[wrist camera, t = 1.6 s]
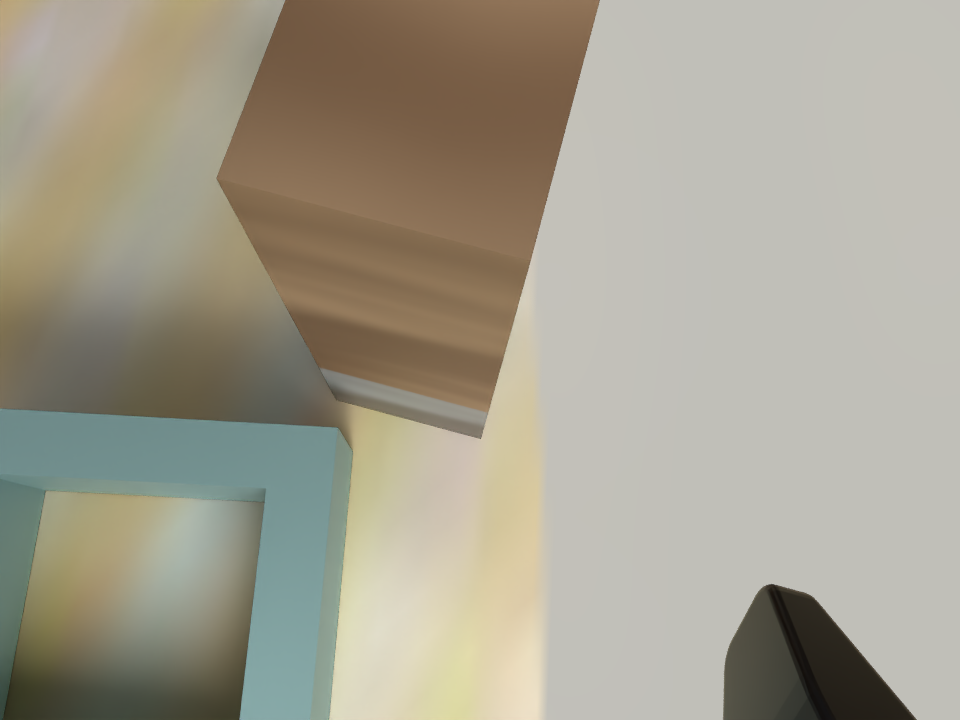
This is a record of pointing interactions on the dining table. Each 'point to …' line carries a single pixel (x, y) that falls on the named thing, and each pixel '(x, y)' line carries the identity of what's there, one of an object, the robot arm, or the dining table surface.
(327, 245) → the square wooden post
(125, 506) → the dining table surface
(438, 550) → the dining table surface
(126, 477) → the square teal collar
